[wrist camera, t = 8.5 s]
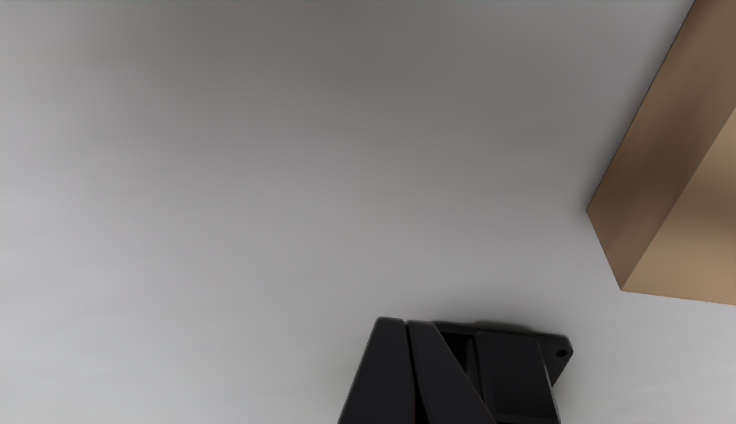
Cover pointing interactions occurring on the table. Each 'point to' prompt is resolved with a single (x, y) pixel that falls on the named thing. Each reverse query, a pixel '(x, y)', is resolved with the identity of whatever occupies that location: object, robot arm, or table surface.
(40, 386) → the table surface
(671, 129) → the walnut deck
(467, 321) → the table surface
